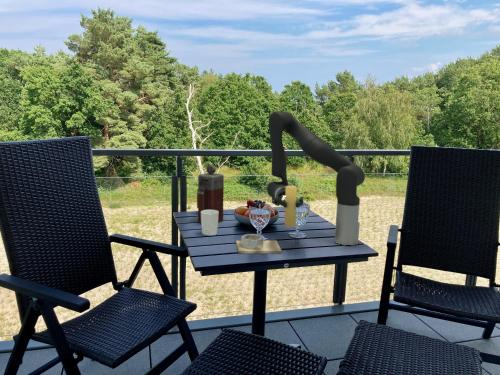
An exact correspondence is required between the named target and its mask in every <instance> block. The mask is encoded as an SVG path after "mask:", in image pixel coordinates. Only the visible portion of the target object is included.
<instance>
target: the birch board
mask: <svg viewBox="0 0 500 375" xmlns="http://www.w3.org/2000/svg"><path fill="white" fill-rule="evenodd" d="M235 243H236V249H237V253H238V254H240V255H241V254H243V255H244V254H245V255H246V254H247V255H248V254H283V253H282V248H281V247H280V245H279V243H278V240H274V239H273V240H267V239H266V240H264V239H263V247H262V248H259V249H246V248H243V247H242V245H241V240H236V241H235Z"/></svg>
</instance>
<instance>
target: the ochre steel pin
mask: <svg viewBox="0 0 500 375" xmlns="http://www.w3.org/2000/svg"><path fill="white" fill-rule="evenodd" d="M297 188H298V187H297V186H296V185H289V186H286V196H285V201H286V202H287V208H285V207H284V227H287V228H292V227H293V228H294V227H296V225H297V223H296V222H297V207H296V197H297V198H298V196H297V191H298V189H297Z"/></svg>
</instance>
